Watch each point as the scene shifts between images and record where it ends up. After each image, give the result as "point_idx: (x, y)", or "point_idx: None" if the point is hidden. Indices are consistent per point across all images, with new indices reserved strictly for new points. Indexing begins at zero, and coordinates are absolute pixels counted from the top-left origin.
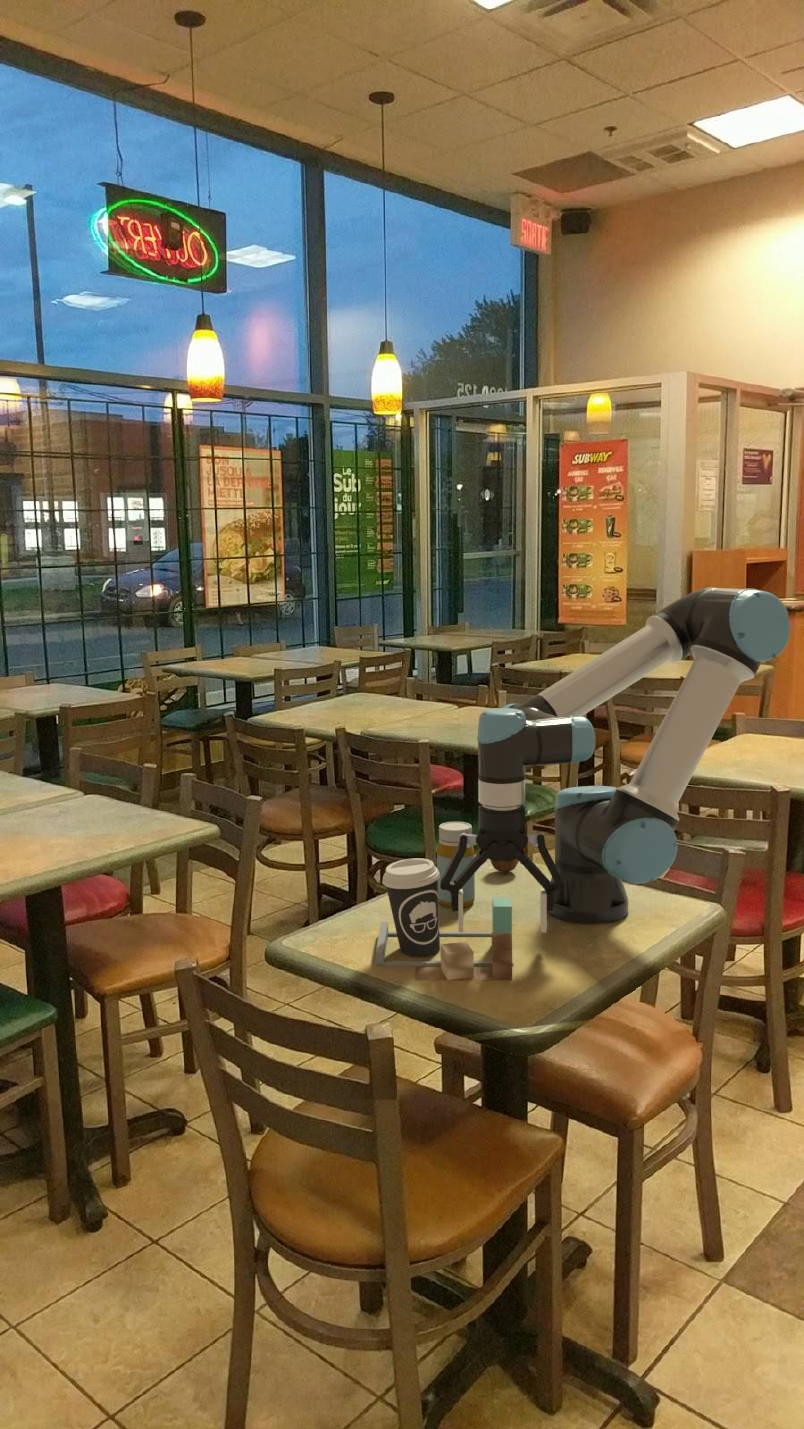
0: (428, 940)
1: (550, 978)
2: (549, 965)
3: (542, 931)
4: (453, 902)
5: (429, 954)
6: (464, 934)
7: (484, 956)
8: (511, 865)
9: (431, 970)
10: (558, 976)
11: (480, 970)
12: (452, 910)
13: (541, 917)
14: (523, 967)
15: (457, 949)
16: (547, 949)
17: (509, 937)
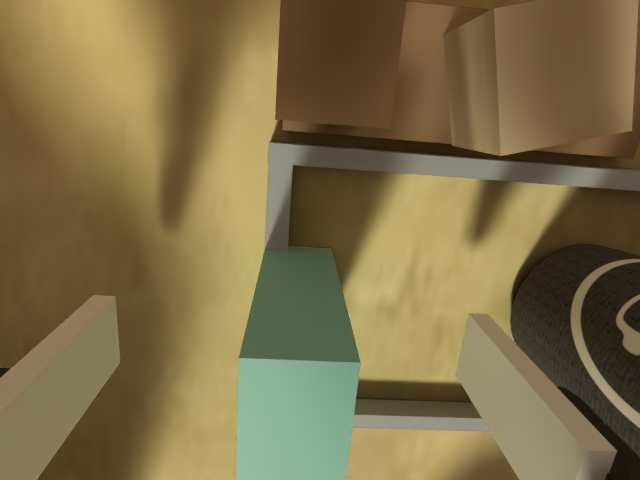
0: (610, 270)
1: (130, 51)
2: (130, 180)
3: (110, 297)
4: (594, 422)
5: (566, 254)
6: (410, 413)
7: (359, 273)
8: None
9: None
10: (97, 69)
11: (404, 104)
12: (567, 390)
13: (86, 352)
14: (230, 168)
15: (569, 48)
16: (132, 320)
17: (293, 22)
